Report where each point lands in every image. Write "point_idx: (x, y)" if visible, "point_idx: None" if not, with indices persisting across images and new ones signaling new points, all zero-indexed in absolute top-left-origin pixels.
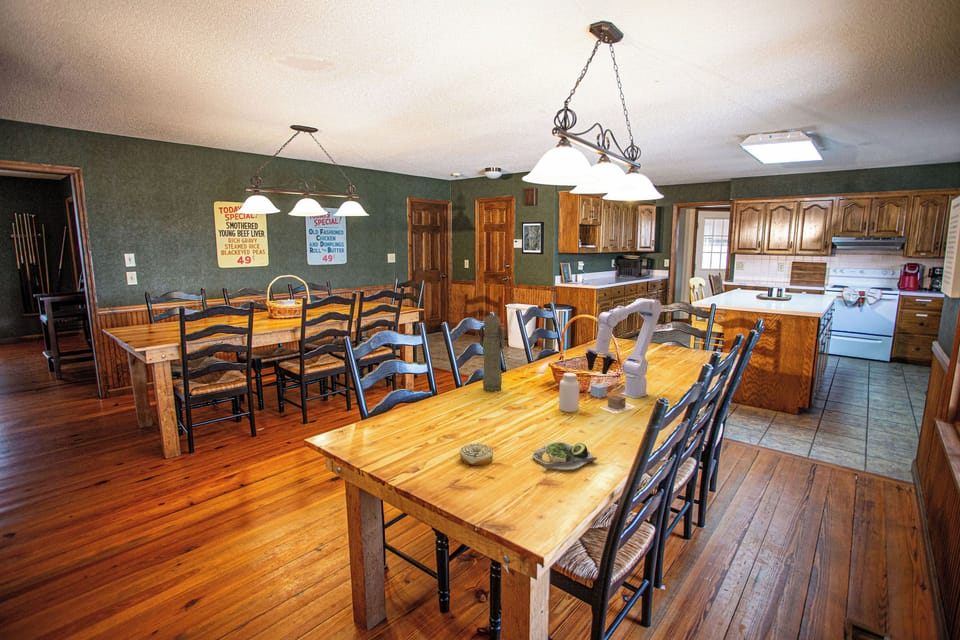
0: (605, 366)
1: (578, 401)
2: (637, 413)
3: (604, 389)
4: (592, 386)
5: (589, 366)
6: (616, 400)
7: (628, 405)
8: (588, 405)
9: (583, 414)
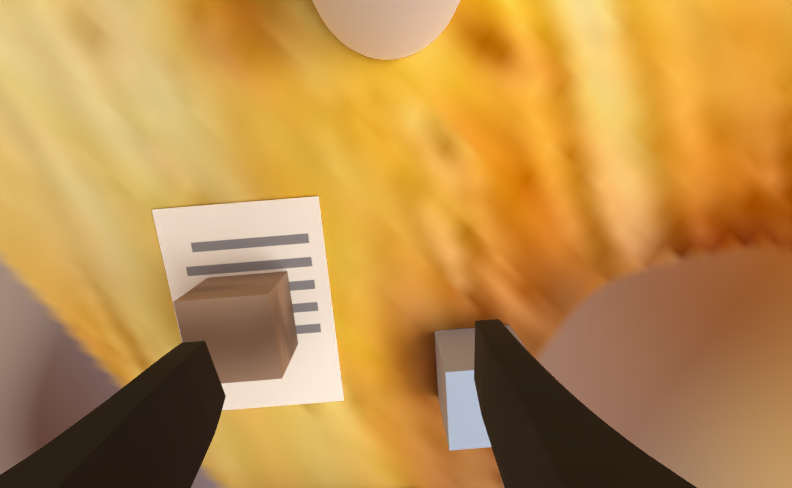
0: (37, 454)
1: (316, 7)
2: (111, 335)
3: (445, 412)
4: None
5: (489, 356)
6: (189, 298)
7: (239, 387)
8: (374, 178)
9: (245, 6)
